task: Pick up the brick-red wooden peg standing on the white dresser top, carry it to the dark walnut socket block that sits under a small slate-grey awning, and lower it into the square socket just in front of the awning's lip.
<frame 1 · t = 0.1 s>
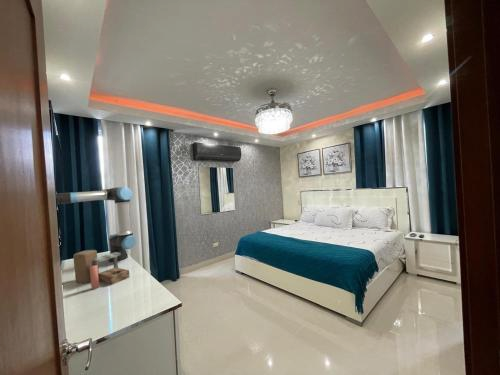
hand: (53, 244, 150), 28 cm above the dresser top, fingers open, 13 cm apart
wooden block: (87, 280, 157), on the dresser top
peg: (95, 288, 142), on the dresser top
socket station: (116, 279, 153), on the dresser top
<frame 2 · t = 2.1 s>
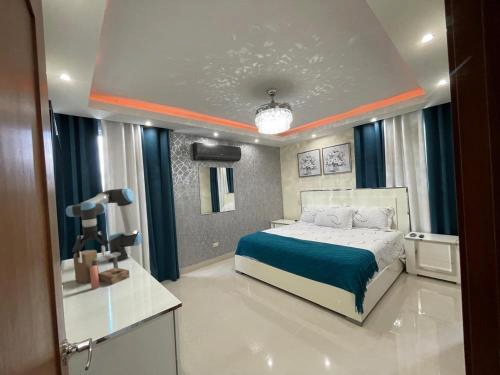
hand: (92, 258, 141), 19 cm above the dresser top, fingers open, 13 cm apart
nothing on the dresser top moved.
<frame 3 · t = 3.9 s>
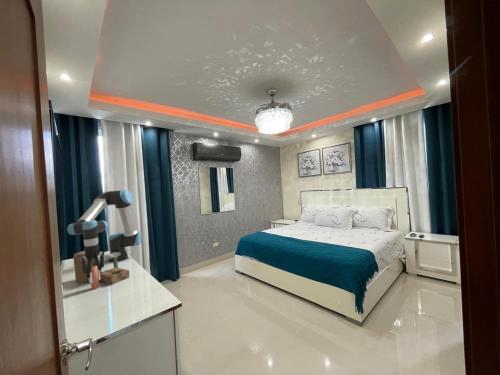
hand: (94, 280, 142), 5 cm above the dresser top, fingers closed on peg, 4 cm apart
peg: (95, 288, 142), on the dresser top, touching gripper
everything else where it was.
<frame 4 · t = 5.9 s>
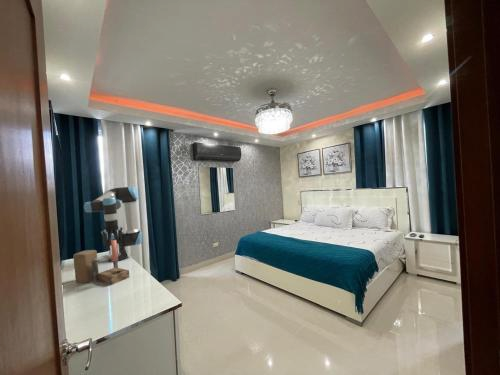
hand: (114, 253, 152), 18 cm above the dresser top, fingers closed on peg, 4 cm apart
peg: (114, 260, 152), point 14 cm above the dresser top, touching gripper
everything else where it was.
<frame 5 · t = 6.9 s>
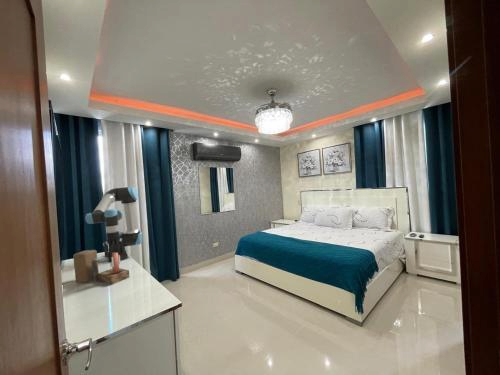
hand: (115, 265, 153), 10 cm above the dresser top, fingers closed on peg, 4 cm apart
peg: (116, 273, 153), point 5 cm above the dresser top, touching gripper
everything else where it was.
when the fingers open (7 cm above the dresser top, at t = 7.9 s): peg stays where it is, resting in socket station.
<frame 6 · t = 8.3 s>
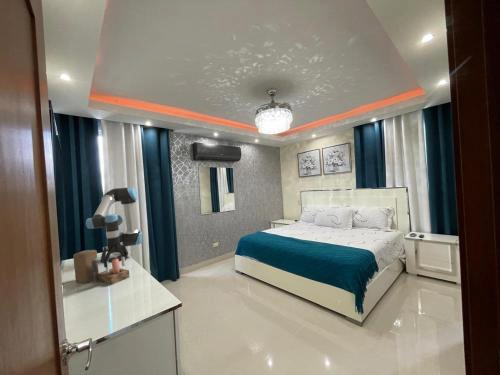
hand: (115, 268, 153), 8 cm above the dresser top, fingers open, 10 cm apart
peg: (116, 279, 153), resting in socket station
everything else where it was.
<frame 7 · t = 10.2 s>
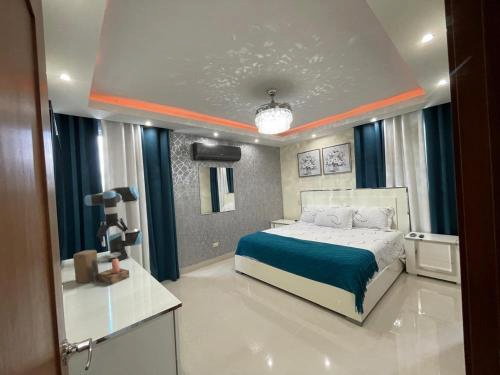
hand: (114, 243, 155), 25 cm above the dresser top, fingers open, 13 cm apart
nothing on the dresser top moved.
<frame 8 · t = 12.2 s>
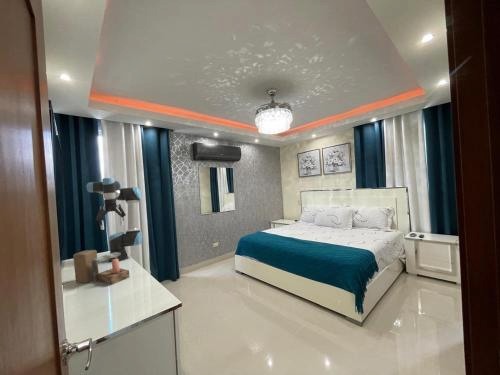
hand: (112, 227, 163), 35 cm above the dresser top, fingers open, 13 cm apart
nothing on the dresser top moved.
at the end: peg 0.0 cm off-centre on the socket station, point 0.0 cm above the socket station's base; peg tilted 0°; the gripper is holding nothing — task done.
